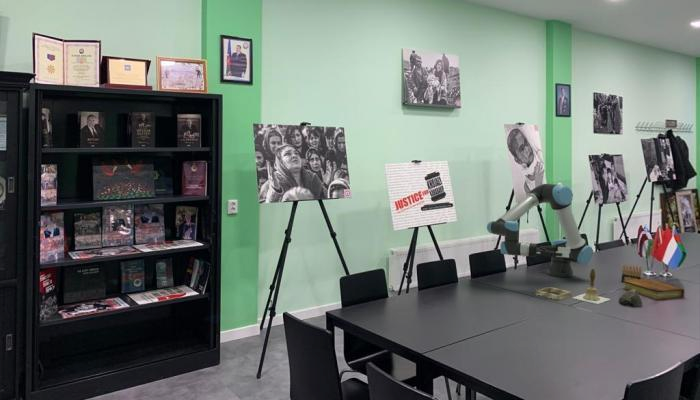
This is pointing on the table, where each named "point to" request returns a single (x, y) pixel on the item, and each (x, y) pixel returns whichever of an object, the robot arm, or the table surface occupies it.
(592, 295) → the hand bell
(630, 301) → the fossil
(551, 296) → the bell cradle
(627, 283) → the diary
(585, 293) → the mat
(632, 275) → the ammunition clip
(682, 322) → the table surface
